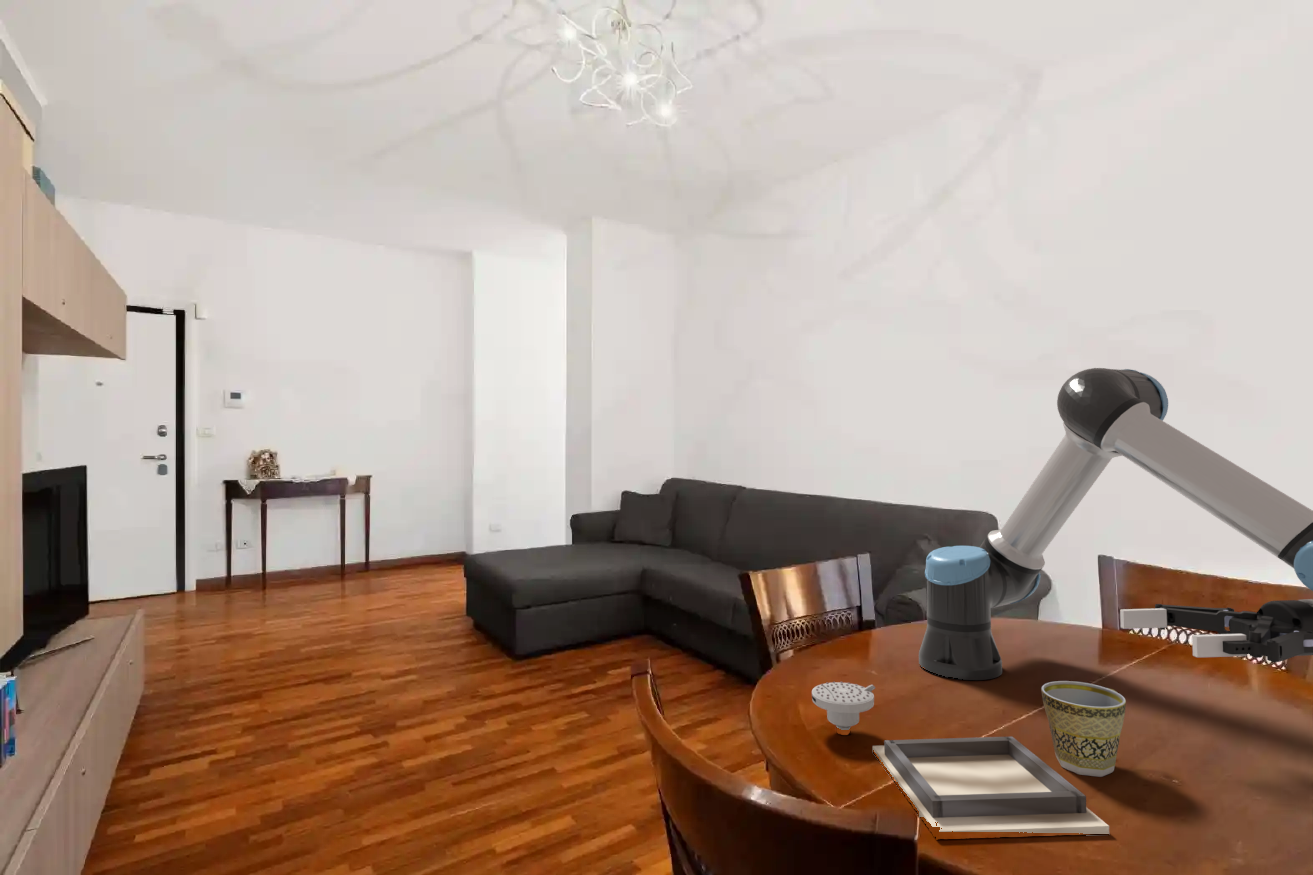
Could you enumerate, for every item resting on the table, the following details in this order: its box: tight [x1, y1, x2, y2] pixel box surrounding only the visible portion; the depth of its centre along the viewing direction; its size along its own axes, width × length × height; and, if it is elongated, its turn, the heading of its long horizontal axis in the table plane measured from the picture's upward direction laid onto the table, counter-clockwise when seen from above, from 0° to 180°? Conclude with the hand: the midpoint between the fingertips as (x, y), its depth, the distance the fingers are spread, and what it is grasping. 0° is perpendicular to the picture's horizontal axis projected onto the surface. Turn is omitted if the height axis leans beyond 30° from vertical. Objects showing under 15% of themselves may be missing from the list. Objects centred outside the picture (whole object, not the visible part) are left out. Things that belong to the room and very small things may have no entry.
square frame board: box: [872, 736, 1110, 835], centre depth 89 cm, size 22×20×3 cm
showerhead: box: [811, 681, 876, 730], centre depth 107 cm, size 9×7×10 cm
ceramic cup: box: [1040, 680, 1127, 778], centre depth 95 cm, size 13×10×10 cm
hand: (1155, 631), depth 96 cm, fingers open, 13 cm apart
